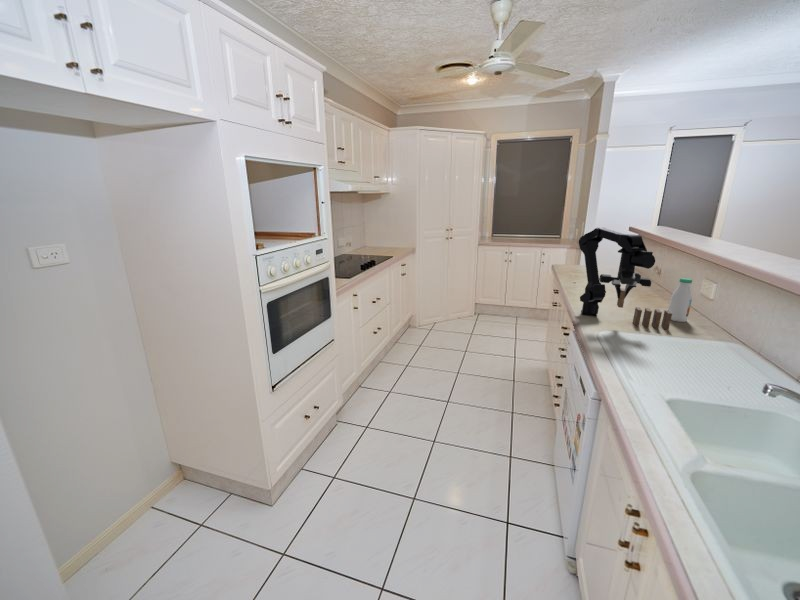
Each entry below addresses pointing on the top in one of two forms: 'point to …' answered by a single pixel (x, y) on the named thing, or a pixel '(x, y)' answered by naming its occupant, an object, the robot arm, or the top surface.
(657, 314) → the domino
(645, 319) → the domino
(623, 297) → the domino
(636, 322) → the domino
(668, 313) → the domino
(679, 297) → the milk bottle
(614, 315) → the top surface
